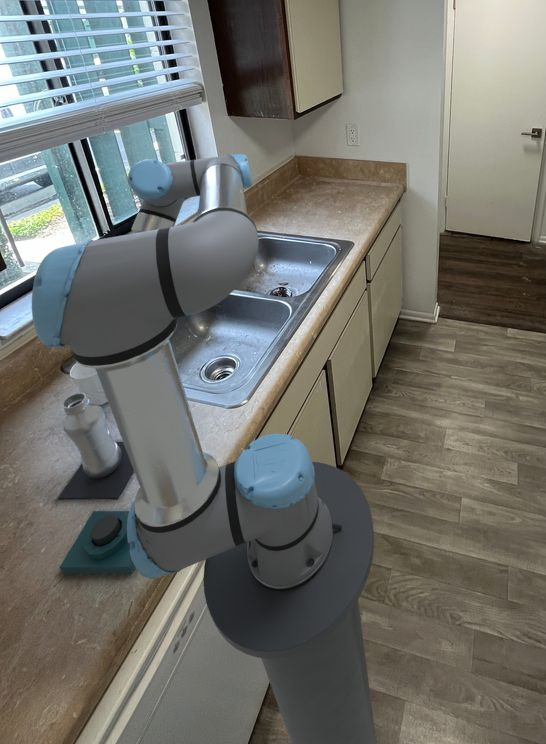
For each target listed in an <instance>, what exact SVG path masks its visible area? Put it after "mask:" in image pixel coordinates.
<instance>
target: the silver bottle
mask: <svg viewBox="0 0 546 744" xmlns="http://www.w3.org/2000/svg"><path fill="white" fill-rule="evenodd" d="M62 408H63V411H64V413H65V417H64V421H63V431H64V432H65V434H66V435H67V436H68V438H69V439H70V440H71V441H72V442H73V444H74V445H75V447H76V448H77V450H78V452H79V455H80V459H81V464H83V469H84V471H85V473H86V474H87V475H88V476H89V477H92V478H102V477H105V476H107V475H109V474H110V473H112V472H113V471H114V470H115V469H116V468H117V467H118V466H119V464H120V462H121V459H122V453H121V449H120V447H119V446H118V445H117V443H116V442H117V441H114V438H113V436H112V435H111V433H110V432H109V428H108V426H107V422H106V421H107V420H106V416H105V411H104V409H103V407H101V405H97V404H94V403H89V399H88V398H87V397H86V395H85V394H84V393H80V392H77V393H74V394H71V395H69V396H67V398H65V399H64V401H63V402H62Z"/></svg>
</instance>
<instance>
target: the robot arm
mask: <svg viewBox="0 0 546 744" xmlns="http://www.w3.org/2000/svg"><path fill="white" fill-rule="evenodd" d="M127 182H128V185H129V187H130V189H131V190H132V191H133V192H134V195H135V196H137V197H138V198H139V199H141V200H142V202H141V204H140V207H139V210H138V213H137V215H136V216H135V219H134V221H133V224H132V227H131V231H132V232H133V233H130V234H123V235H118V236H112V237H107V238H105V237H104V238H100V239H87V240H85V241H84V242H79V243H74V244H70V245H66V246H61V247H58V248H56V249H53V250H51V251H50V252H49V253H47V255H46V256H44V258H43V259H42V261H41V262H40V264H39V266H38V267H37V270H36V273H35V276H34V280H33V286H32V290H31V292H32V293H31V315H32V323H33V327H34V331H35V333H36V336H37V338H38V340H39V341H40V342H41V343H42V345H45V346H46V347H47V348H50V349H51V348H52V349H53V348H56V349H61V348H64V347H66V346H68V347H69V348H70V351H71V353H72V357H73V358H74V360H75V362H76V363H78V364H80V365H81V366H84V367H89V368H95V369H96V372H97V374H98V377H99V380H100V382H101V385H102V388H103V390H104V393H105V396H106V398H107V401H108V402H107V404H108V406H109V408H110V411H111V414H112V416H113V420H114V423H115V424H116V427H117V430H118V433H119V435H120V439H121V440H122V441H121V442H123V443H124V446H125V448H126V451H127V454H128V456H129V459H130V462H131V464H132V467H133V470H134V472H133V473H134V475H135V477H136V480H137V483H138V485H139V488H138V491H137V493H136V496H135V498H134V500H133V501H132V503H131V505H130V507H129V510H128V511H129V514H128V520H127V539H128V543H129V544H130V555H131V559H132V561H133V564H134V565H135V567H136V568H135V570H136V571H137V572H138V573H139V574H140V575H141V576H143V577H144V578H146V579H148V580H149V579H151V580H155V579H158V578H162V577H164V576H167V575H173V574H177V573H180V572H181V571H182V570H183V569H187V568H188V567H191V566H193V565H196V564H198V563H201V562H202V561H205V560H206V559H208V558H210V557H212V556H215V555H217V554H220V553H222V552H224V551H227V550H229V549H231V548H234V547H236V546H238V545H241V544H243V543H246V542H247V559H248V564H249V567H250V570H251V572H252V574H253V576H254V578H255V579H256V580H257V582H258V583H259V584H261V585H262V586H263V587H265V588H267V589H269V590H272V591H289V590H293V589H296V588H298V587H300V586H302V585H304V584H305V583H307V582H308V581H309V580H311V579H312V578H313V577H314V576H315V575H316V574H317V573H318V572H319V571H320V569H321V568H322V566H323V565H324V563H325V562H326V560H327V558H328V556H329V553H330V550H331V547H332V542H333V529H337V530H341V529H342V525H338V524H333V523H332V518H331V515H330V513H329V510H328V508H327V506H326V505H325V503H324V502H323V501H322V500H321V499H320V498H319V497H317V491H316V486H315V481H314V476H315V474H314V466H313V463H312V462H313V461H312V459H311V457H310V453H309V451H308V449H307V447H306V446H305V444H304V443H303V442H302V441H301V440H300V439H298V438H295V437H293V436H292V435H290V434H286V433H272V434H266V435H263V436H260V437H258V438H256V439H255V440H253V441H251V442H250V443H249V444H248V445H247V448H246V449H243V450H242V452H240V455H239V456H238V458H237V460H235V461H233V462H230V463H229V462H228V463H227V464H224V465H221V466H219V463H218V462H217V459H216V458H214V456H213V455H211V454H209V453H207V452H204V451H203V448H202V445H201V442H200V437H199V435H198V432H197V428H196V425H195V422H194V418H193V415H192V412H191V407H190V404H189V401H188V398H187V394H186V391H185V387H184V384H183V380H182V377H181V374H180V370H179V366H178V363H177V360H176V357H175V354H174V350H173V347H172V343H171V337H172V336H173V335H174V333H175V332H176V330H177V327H178V319H180V318H184V317H188V316H191V315H197V314H199V313H201V312H204V311H206V310H208V309H210V308H212V307H214V306H216V305H218V304H219V303H221V302H222V301H224V300H225V299H226V298H227V297H228V296H229V295H230V294H232V293H233V292H234V291H235V290H236V289H237V288H238V287H239V285H241V284H242V282H243V281H244V280H245V279H246V277H247V275H248V274H249V272H250V271H251V269H252V268H253V266H254V263H255V262H256V261H255V260H256V258H257V256H258V252H259V244H260V240H259V233H258V228H257V225H256V224H255V222H254V220H253V219H252V218H251V216H250V215H248V210H247V204H246V195H245V190H246V189H250V188H252V186H253V180H252V174H251V168H250V165H249V159H248V157H247V155H246V154H243V153H239V154H229V153H228V154H225V155H220V156H213V157H212V156H211V157H206V158H198V159H191V160H189V159H188V160H181V161H175V162H174V161H173V162H167V163H164V162H163V161H160V160H157V159H153V158H152V159H151V158H147V159H143V160H140V161H138V162H136V163H134V164H133V165H132V166H131V168H130V170H129V171H128V175H127ZM195 197H199V201H198V210H197V216H196V217H195V218H194V220H192V222H190V223H185V224H184V223H183V224H179V225H176V222H177V220H178V218H179V215H180V212H181V209H182V206H183V204H184V202H185V199H188V198H195Z"/></svg>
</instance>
